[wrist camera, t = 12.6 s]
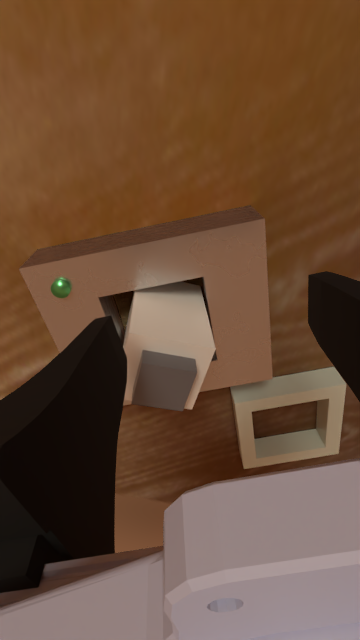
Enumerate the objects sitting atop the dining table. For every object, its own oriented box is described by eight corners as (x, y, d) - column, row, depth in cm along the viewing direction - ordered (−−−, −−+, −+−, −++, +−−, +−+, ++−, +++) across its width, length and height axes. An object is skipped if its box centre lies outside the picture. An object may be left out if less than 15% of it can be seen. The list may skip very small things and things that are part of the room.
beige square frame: (333, 366, 26) (346, 384, 24) (328, 434, 30) (338, 453, 28) (229, 385, 26) (234, 403, 25) (239, 449, 31) (243, 469, 29)
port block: (250, 205, 19) (266, 220, 16) (261, 352, 25) (274, 381, 22) (37, 249, 20) (16, 270, 17) (95, 382, 25) (87, 415, 23)
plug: (200, 285, 21) (219, 362, 15) (183, 336, 24) (193, 424, 17) (137, 272, 21) (126, 345, 14) (126, 326, 23) (112, 413, 16)
